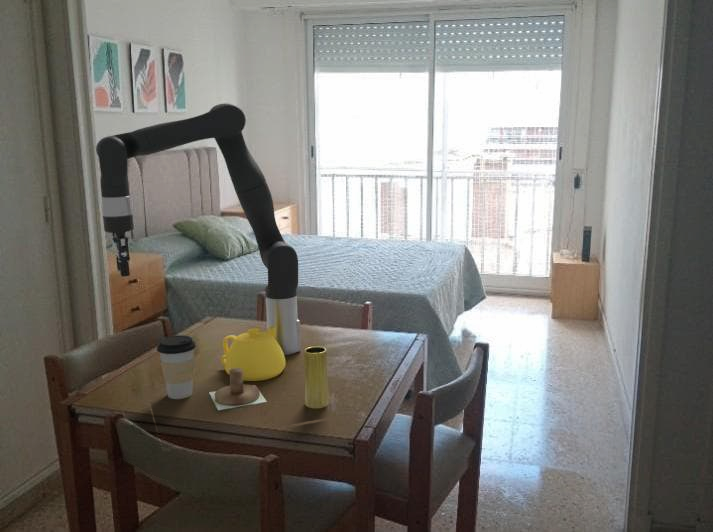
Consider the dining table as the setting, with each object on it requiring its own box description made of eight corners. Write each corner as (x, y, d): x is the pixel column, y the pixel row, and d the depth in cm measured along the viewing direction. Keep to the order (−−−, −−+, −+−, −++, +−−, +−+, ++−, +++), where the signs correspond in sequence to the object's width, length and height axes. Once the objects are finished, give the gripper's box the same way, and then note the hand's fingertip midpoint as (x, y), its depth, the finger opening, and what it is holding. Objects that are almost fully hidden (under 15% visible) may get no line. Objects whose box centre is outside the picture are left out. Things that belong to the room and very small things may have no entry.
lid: (253, 385, 178) (252, 360, 177) (264, 401, 168) (263, 374, 167) (211, 392, 174) (209, 366, 173) (219, 408, 164) (218, 381, 163)
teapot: (268, 387, 179) (266, 341, 176) (206, 379, 185) (203, 334, 183) (300, 362, 197) (299, 319, 195) (243, 356, 204) (241, 314, 201)
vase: (304, 401, 170) (302, 346, 167) (329, 399, 170) (327, 345, 167) (304, 411, 164) (302, 354, 161) (330, 409, 164) (328, 353, 161)
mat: (255, 387, 179) (255, 384, 179) (267, 403, 168) (266, 401, 168) (209, 394, 175) (209, 392, 175) (218, 412, 164) (218, 410, 164)
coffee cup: (189, 404, 169) (185, 347, 166) (154, 402, 171) (149, 345, 167) (205, 390, 178) (201, 335, 175) (171, 388, 180) (167, 333, 176)
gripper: (135, 215, 176) (141, 276, 179) (129, 209, 189) (134, 266, 192) (105, 217, 173) (111, 280, 176) (100, 211, 186) (106, 269, 189)
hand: (123, 273), depth 184 cm, fingers open, 8 cm apart
